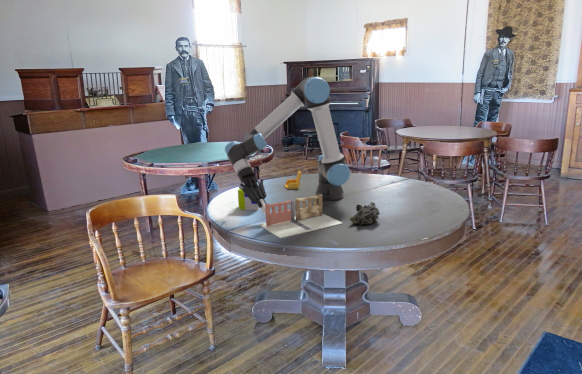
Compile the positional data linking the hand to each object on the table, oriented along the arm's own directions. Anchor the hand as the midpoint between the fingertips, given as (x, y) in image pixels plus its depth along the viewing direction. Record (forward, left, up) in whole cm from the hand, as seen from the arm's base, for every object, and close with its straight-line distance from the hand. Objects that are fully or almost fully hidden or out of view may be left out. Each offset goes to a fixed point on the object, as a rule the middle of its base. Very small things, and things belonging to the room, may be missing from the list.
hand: (266, 212), depth 200 cm
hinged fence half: (-4, +6, -4) cm, 8 cm away
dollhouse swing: (-42, -49, -5) cm, 65 cm away
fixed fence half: (-19, +6, -4) cm, 21 cm away
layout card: (-11, +11, -5) cm, 16 cm away
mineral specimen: (-37, +24, -5) cm, 44 cm away
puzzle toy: (-4, -26, -5) cm, 27 cm away
